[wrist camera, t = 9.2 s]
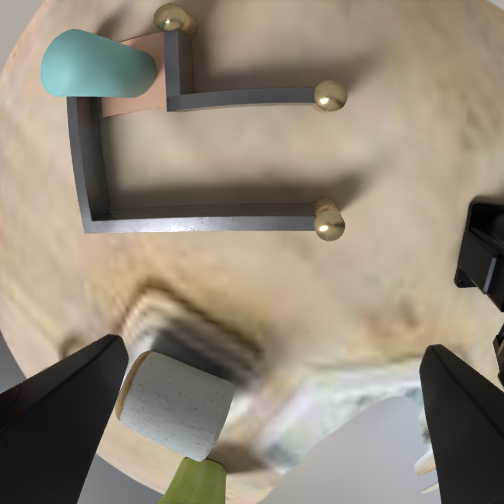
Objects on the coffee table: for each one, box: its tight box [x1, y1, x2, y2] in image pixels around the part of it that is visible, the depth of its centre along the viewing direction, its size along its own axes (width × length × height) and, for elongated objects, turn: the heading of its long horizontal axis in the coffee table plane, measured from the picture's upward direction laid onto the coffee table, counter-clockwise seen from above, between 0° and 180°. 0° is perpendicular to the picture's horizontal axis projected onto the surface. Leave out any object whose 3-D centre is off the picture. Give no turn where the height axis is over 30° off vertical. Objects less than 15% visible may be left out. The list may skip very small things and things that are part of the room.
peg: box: [40, 29, 157, 98], centre depth 13 cm, size 3×3×7 cm
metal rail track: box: [67, 3, 347, 241], centre depth 16 cm, size 16×14×3 cm
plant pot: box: [158, 457, 226, 504], centre depth 30 cm, size 9×9×9 cm
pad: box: [101, 32, 167, 117], centre depth 16 cm, size 5×5×1 cm
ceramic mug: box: [115, 351, 234, 462], centre depth 23 cm, size 11×8×8 cm
